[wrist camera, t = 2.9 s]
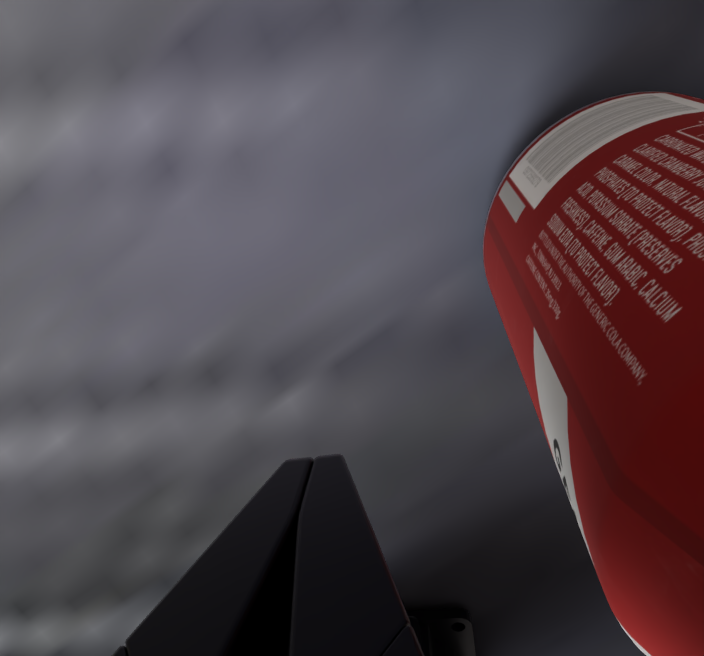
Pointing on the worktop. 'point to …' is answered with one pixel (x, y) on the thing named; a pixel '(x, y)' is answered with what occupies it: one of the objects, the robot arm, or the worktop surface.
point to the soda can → (617, 341)
